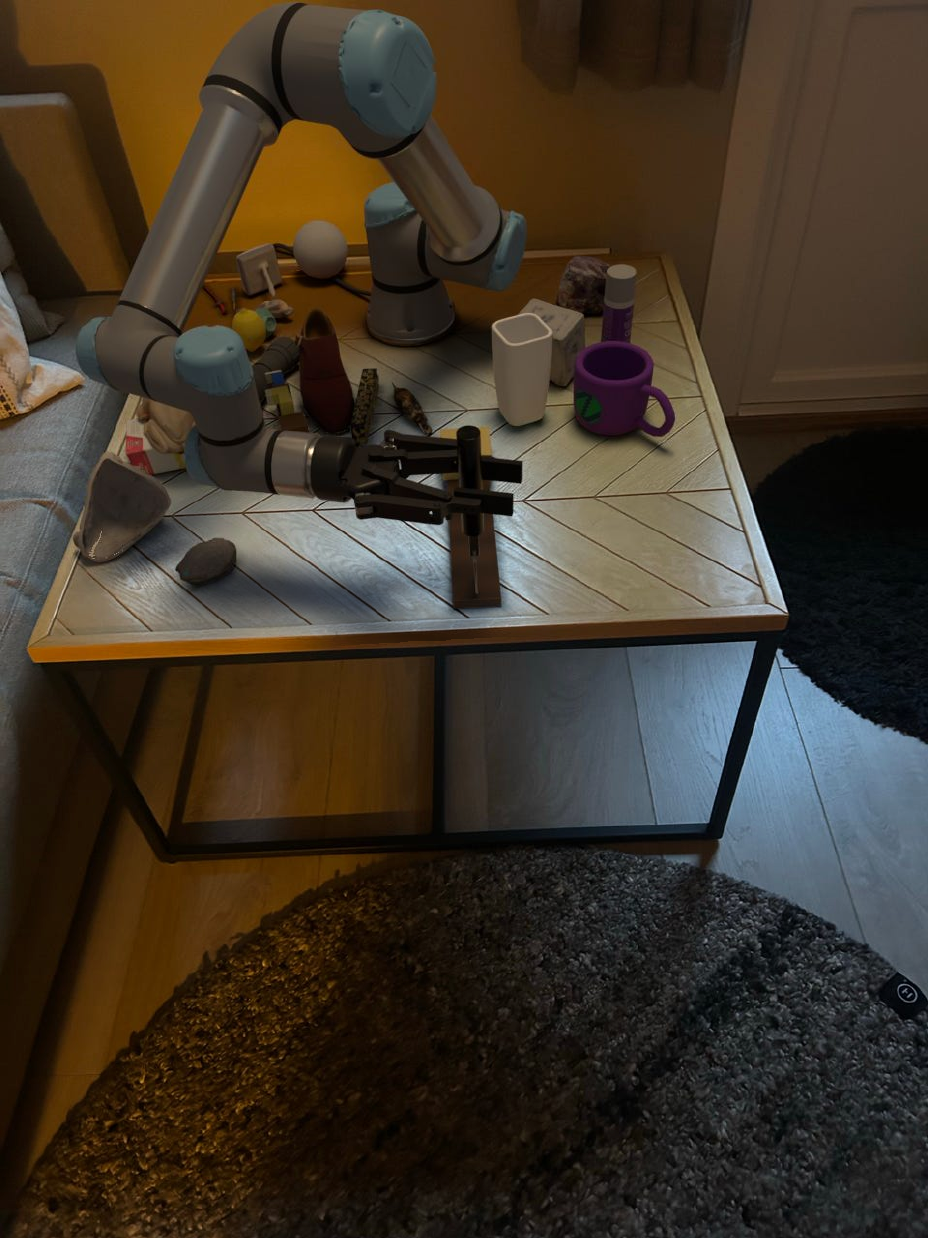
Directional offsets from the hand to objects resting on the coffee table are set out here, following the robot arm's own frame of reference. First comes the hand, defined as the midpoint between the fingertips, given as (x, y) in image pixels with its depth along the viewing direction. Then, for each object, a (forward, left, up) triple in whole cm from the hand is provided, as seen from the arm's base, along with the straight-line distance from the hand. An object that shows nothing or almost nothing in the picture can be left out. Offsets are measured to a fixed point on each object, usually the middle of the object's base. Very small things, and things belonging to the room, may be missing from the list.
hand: (517, 488), depth 101 cm
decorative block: (-43, +15, -18) cm, 49 cm away
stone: (-34, -21, -19) cm, 44 cm away
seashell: (-47, -26, -11) cm, 55 cm away
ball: (-82, +40, -18) cm, 93 cm away
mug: (-10, +37, -18) cm, 43 cm away
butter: (-22, +14, -17) cm, 31 cm away
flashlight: (-61, +10, -18) cm, 65 cm away
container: (-23, +51, -18) cm, 59 cm away
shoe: (-52, +14, -18) cm, 57 cm away
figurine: (-58, -8, -13) cm, 60 cm away
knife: (-5, -3, -16) cm, 17 cm away
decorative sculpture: (-82, +26, -18) cm, 88 cm away
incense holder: (-29, +41, -18) cm, 53 cm away
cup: (-24, +30, -18) cm, 42 cm away
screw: (-77, +19, -14) cm, 80 cm away
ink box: (-62, -16, -16) cm, 66 cm away
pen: (-86, +23, -18) cm, 90 cm away
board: (-14, +6, -18) cm, 24 cm away
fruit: (-71, +15, -18) cm, 75 cm away
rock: (-36, +61, -18) cm, 73 cm away
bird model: (-37, +19, -18) cm, 46 cm away
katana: (-92, +24, -17) cm, 96 cm away
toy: (-55, +8, -14) cm, 57 cm away
